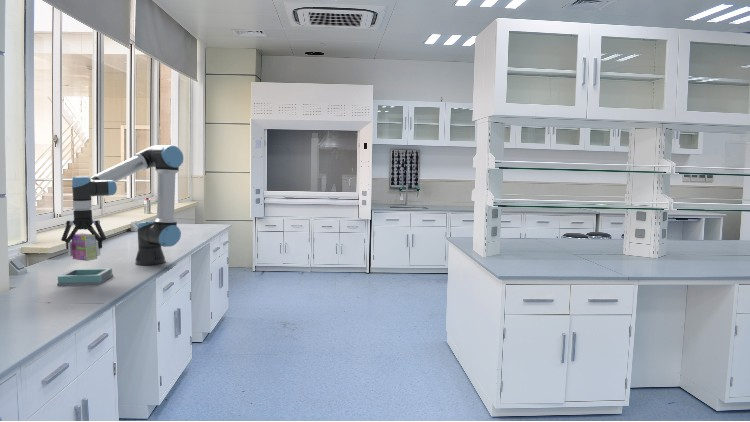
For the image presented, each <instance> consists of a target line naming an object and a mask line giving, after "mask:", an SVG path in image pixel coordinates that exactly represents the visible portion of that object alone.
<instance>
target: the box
mask: <svg viewBox="0 0 750 422" xmlns="http://www.w3.org/2000/svg"><path fill="white" fill-rule="evenodd" d="M71 242H72V254H73V256H72V260H77V261H85V262H90V261H94V260H97V259H98V256H97V253H96V242H97V240H96V238H95V235H92V233H83V232H82V233H76V234H75V235H73V237H72V239H71Z"/></svg>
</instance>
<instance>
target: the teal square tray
mask: <svg viewBox="0 0 750 422" xmlns="http://www.w3.org/2000/svg"><path fill="white" fill-rule="evenodd" d="M112 277H114V273H113V268H109V267H107V268H106V267H105V268H72V269H70V270H68V271H66V272H64V273H62V274H60V275H58V276H57V283H56V286H58V287H59V286H63V287H64V286H92V285H95V286H98V285H101V284H104V282H105V281H107V280H109V279H110V278H112Z"/></svg>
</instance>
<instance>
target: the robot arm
mask: <svg viewBox="0 0 750 422" xmlns="http://www.w3.org/2000/svg"><path fill="white" fill-rule="evenodd" d="M183 163H184V153H183V152H182V150H181V149H180V148H179V147H178V146H176V145H171V144H165V145H163V144H159V145H158V144H156V145H152V146H150V147H147V148H145V149H143V150H141V151H138V152H137V153H135V154H134V156H132V157H130V158H129V159H126V160H125V161H122V162H120V163H118V164H116V165H114V166H112V167H110V168H107V169H105V170H103V171H102V172H99V173H97V174H95V175H93V176H91V177H90V176H87V175H85V176H73V177H72V179H71V187H72V188H71V189H72V208H73V213H72V214H73V220H71V219H69V220H67V221H66V222H65V223H66V224H65V229H64V230H63V234H62V236H61V239H60V240H61V242H65V248H66V250H68V252H67V253H68V257H73V254H72V240H71V239H72V237H73V235H75V234H77V233H78V231H80V230H85V231H86V230H88V231H89V232H90V234H92V235H95V238H96V253H97V257H99V256H101V249H103V241H106V240H107V237H106V234H105V232H104V230H103V229H102V226H101V221H100V219H97V220H93V210H92V197H102V196H105V197H109V196H114V195H115V194H116V193H117V191H118V186H117V182H119V181H121V180H123V179H125V178H127V177H129V176H131V175H134V174H135V173H138V172H139V171H141V170H142V171H145V170H148V169H151V168H154V170H155V171H156V173H157V174H158V175H157V176H158V177H157V202H156V203H157V207H156V218H155V219H154V220H152V221H151V220H150V221H141V222H138V223H137V244H138V245H137V246H138V247H137V248H138V250H137V254H136V257H135V264H136V265H138V266H150V265H151V266H152V265H153V266H155V265H159V264H160V265H161V264H164V263H166V256H165V254H164V251H163V250H162V247H174V246H175V245H177V243H179V241H180V240H181V236H182V233H181V232H182V231H181V229H180V227H178V224H177V223H178V222H177V220H176V219H175V202H176V200H175V199H176V197H175V196H176V174H177V173H179V171H180V166H182V165H183ZM93 224H94V226H95V228H96V230H95V228H94V227H93V226H92V225H93ZM73 225H74V227H73V230H71V228H72V226H73ZM70 231H71V232H70ZM69 233H70V234H69Z"/></svg>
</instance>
